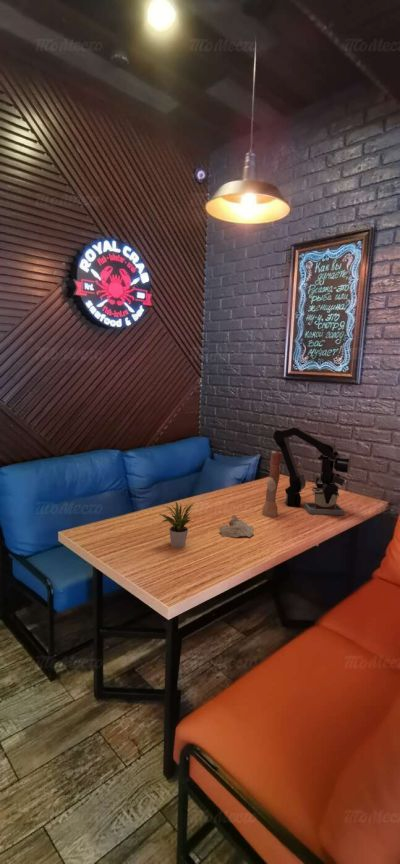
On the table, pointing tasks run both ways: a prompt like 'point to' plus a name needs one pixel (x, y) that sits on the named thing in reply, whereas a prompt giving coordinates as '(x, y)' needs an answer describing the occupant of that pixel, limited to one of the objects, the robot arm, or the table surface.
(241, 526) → the coral
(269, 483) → the tall figurine
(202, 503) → the table surface
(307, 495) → the table surface
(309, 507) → the grey tray
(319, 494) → the food container
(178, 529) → the house plant
